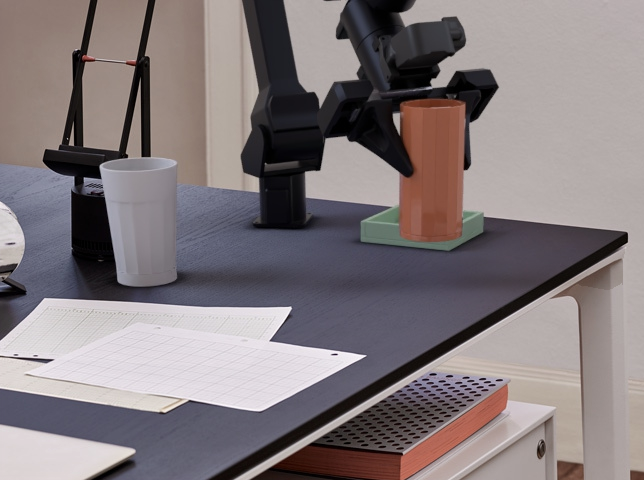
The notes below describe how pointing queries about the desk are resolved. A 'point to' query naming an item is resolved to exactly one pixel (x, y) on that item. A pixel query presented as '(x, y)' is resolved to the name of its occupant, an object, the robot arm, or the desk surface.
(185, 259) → the desk surface
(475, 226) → the tray
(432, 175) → the tumbler
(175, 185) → the cup
